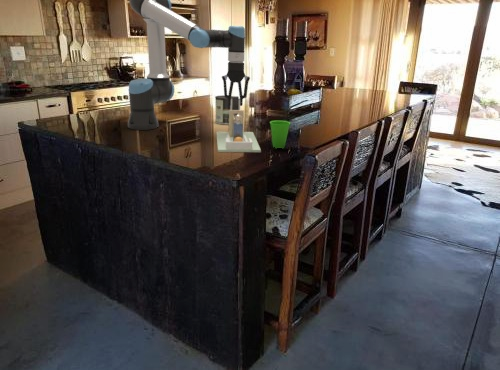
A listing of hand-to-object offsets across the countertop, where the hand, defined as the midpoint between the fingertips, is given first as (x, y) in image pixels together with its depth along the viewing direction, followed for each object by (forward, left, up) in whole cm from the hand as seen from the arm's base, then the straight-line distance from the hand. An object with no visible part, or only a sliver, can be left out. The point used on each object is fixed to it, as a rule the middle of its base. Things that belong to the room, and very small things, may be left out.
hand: (235, 112), depth 191 cm
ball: (0, -26, -8) cm, 27 cm away
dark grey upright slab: (0, -11, -9) cm, 14 cm away
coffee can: (-4, +26, -11) cm, 28 cm away
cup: (+18, -24, -11) cm, 32 cm away
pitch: (0, -16, -11) cm, 19 cm away
